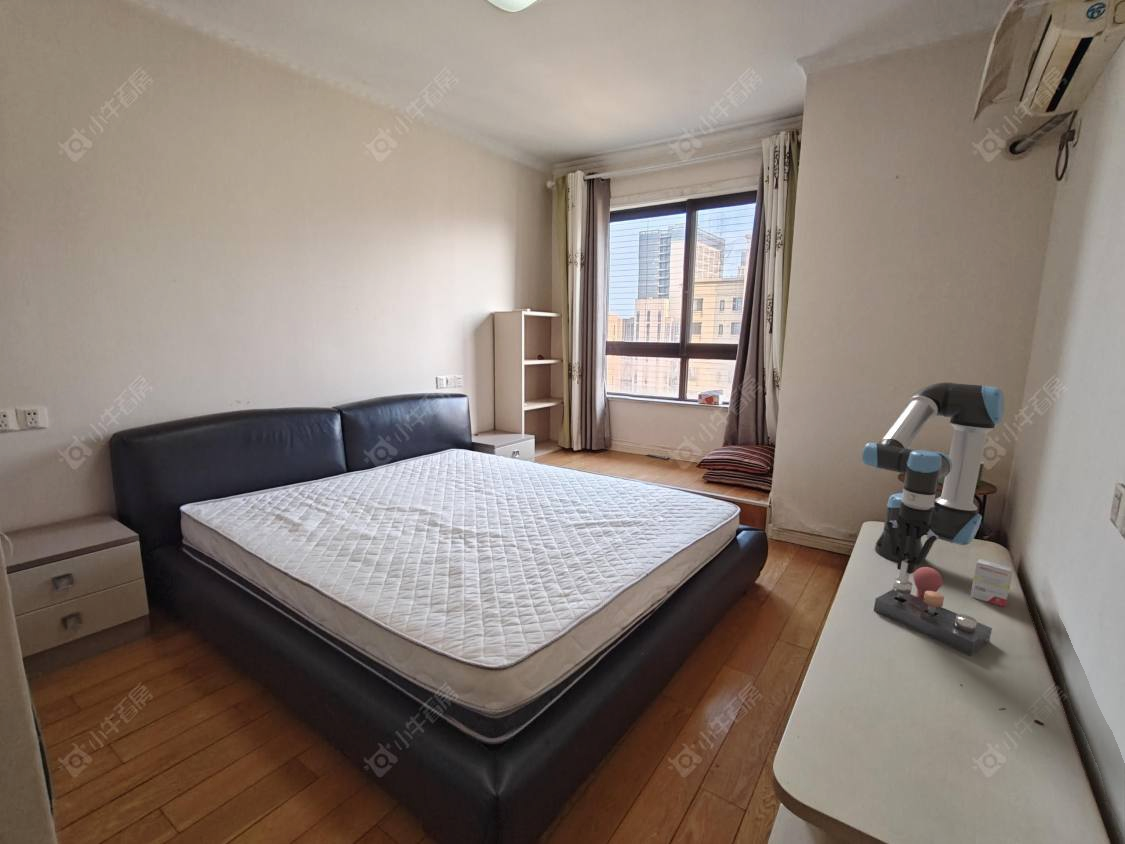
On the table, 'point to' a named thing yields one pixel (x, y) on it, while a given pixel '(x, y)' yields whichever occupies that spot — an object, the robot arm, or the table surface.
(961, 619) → the knob
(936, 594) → the knob
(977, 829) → the table surface
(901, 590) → the knob
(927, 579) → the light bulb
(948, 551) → the table surface
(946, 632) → the mount plate
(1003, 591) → the ink box
